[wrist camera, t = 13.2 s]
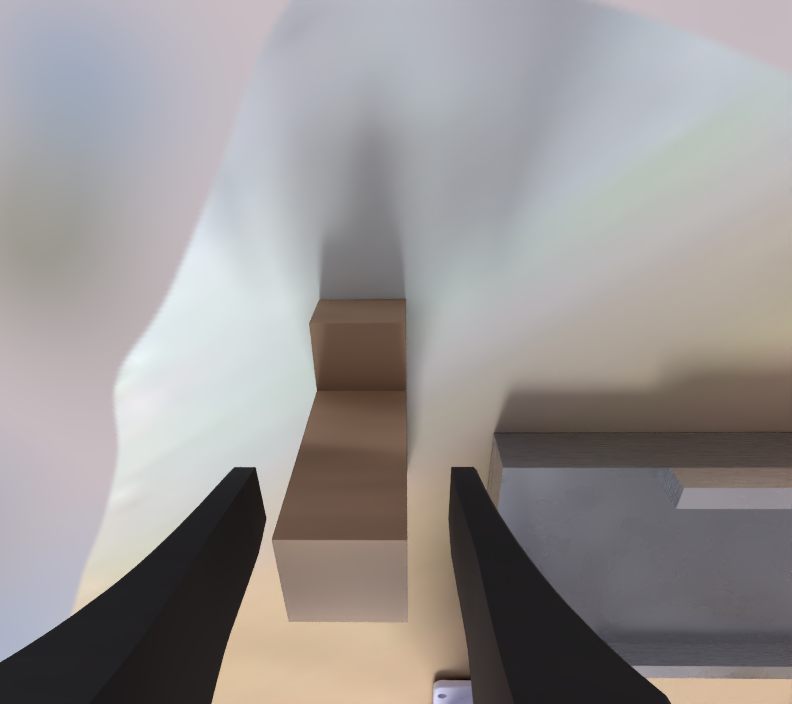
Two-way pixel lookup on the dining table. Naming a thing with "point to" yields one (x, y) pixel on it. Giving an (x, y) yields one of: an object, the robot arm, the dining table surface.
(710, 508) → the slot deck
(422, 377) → the dining table surface
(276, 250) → the dining table surface
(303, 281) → the dining table surface
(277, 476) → the dining table surface
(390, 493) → the tan stepped block
